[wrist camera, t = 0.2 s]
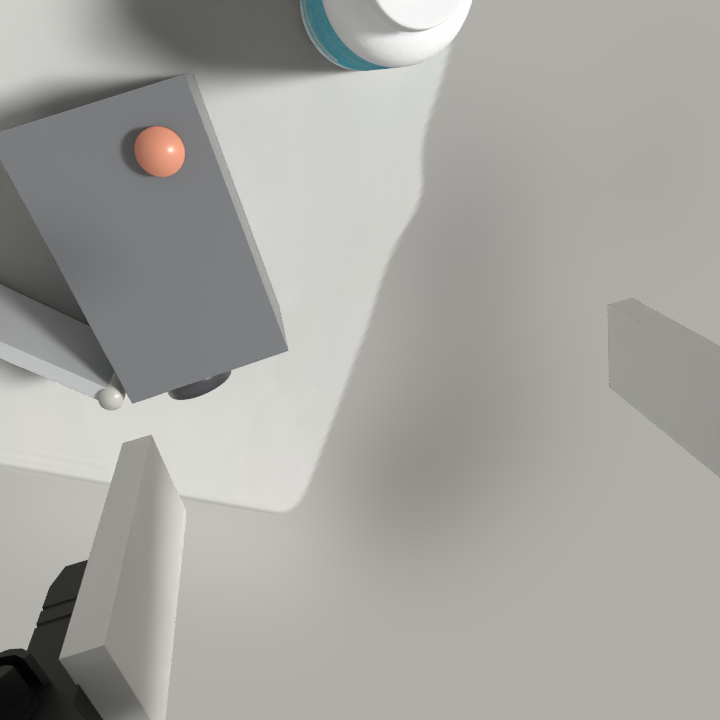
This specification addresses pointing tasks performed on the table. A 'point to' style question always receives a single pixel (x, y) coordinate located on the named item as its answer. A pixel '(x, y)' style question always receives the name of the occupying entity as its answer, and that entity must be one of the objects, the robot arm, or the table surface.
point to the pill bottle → (382, 30)
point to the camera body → (149, 236)
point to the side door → (56, 348)
